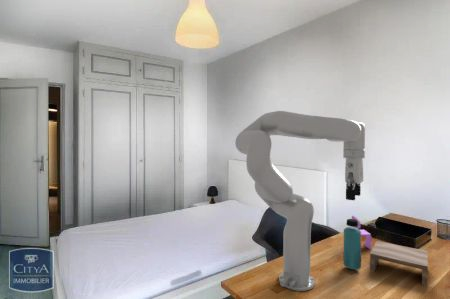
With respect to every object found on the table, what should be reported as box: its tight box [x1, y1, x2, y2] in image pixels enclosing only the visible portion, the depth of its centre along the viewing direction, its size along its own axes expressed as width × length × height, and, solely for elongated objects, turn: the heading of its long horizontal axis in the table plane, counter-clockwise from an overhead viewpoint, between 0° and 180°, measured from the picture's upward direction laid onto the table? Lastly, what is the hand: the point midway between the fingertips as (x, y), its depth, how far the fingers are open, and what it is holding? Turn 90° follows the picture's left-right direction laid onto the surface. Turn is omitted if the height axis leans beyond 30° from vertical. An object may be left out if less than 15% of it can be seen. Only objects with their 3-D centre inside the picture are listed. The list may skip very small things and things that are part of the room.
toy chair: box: [351, 215, 373, 251], centre depth 128 cm, size 8×9×15 cm
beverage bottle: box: [342, 218, 362, 270], centre depth 106 cm, size 6×7×20 cm
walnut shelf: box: [369, 240, 429, 287], centre depth 106 cm, size 16×18×7 cm
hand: (353, 197), depth 105 cm, fingers open, 9 cm apart
